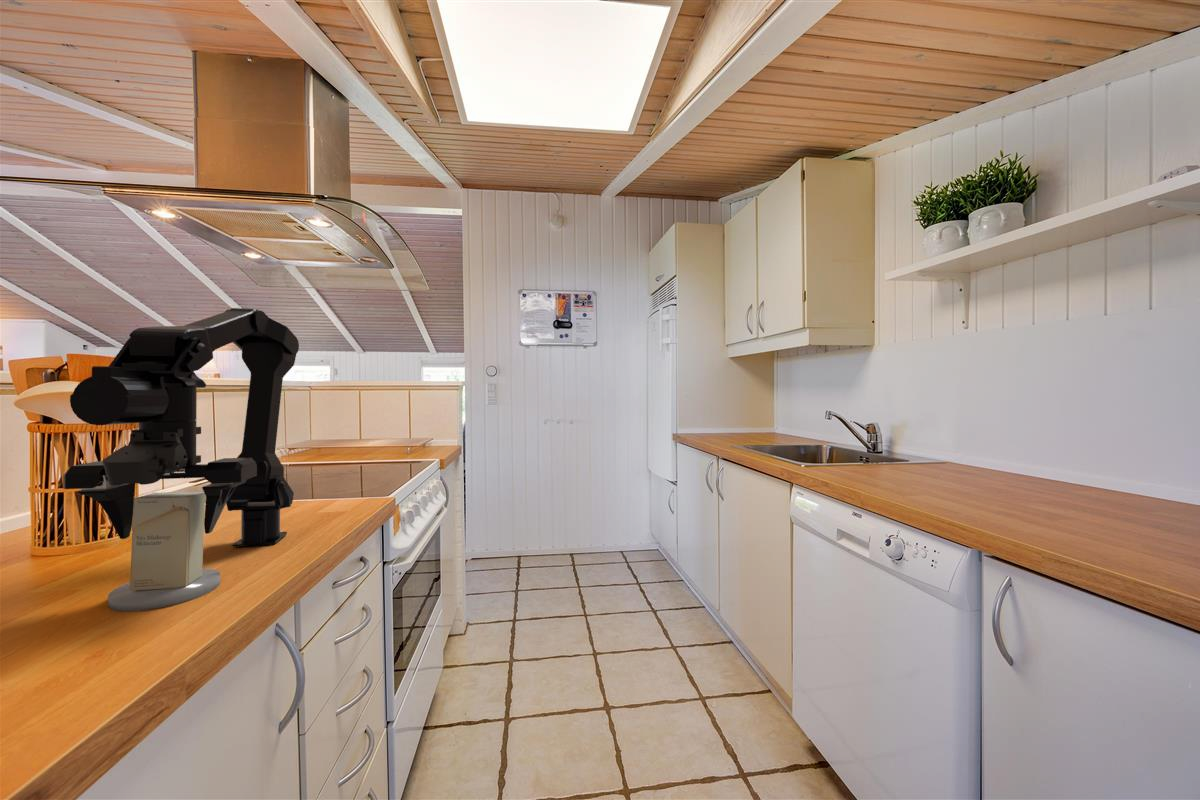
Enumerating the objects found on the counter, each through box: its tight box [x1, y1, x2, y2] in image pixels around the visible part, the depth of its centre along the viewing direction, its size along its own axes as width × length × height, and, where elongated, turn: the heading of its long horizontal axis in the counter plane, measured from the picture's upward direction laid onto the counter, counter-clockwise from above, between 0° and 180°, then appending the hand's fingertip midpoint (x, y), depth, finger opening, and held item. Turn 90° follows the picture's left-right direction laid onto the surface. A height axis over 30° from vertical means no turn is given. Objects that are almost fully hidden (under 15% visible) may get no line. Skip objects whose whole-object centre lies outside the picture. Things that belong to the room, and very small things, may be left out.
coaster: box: [107, 567, 221, 612], centre depth 62 cm, size 11×11×1 cm
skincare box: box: [129, 490, 206, 591], centre depth 62 cm, size 6×4×12 cm
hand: (167, 535), depth 62 cm, fingers open, 9 cm apart
